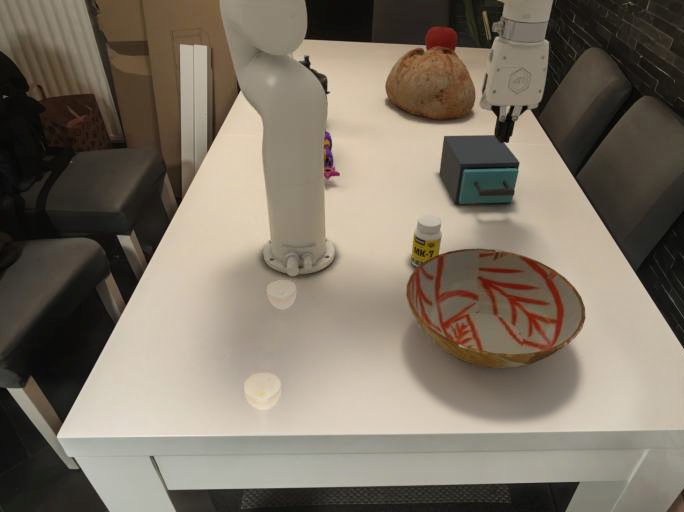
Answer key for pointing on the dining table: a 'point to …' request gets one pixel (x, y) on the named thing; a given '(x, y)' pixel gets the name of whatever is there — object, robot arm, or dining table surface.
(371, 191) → the dining table surface
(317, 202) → the robot arm
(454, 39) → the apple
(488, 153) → the drawer box
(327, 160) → the purple toy figure
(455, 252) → the bowl
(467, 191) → the teal drawer
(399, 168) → the dining table surface
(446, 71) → the bread
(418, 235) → the supplement bottle
